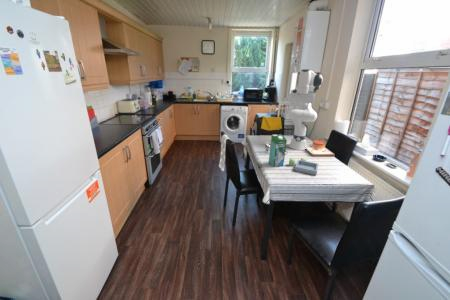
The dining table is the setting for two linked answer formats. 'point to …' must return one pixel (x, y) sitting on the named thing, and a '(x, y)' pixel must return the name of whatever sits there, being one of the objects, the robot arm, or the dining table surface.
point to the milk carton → (277, 150)
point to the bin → (306, 167)
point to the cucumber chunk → (291, 162)
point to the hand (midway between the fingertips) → (299, 108)
